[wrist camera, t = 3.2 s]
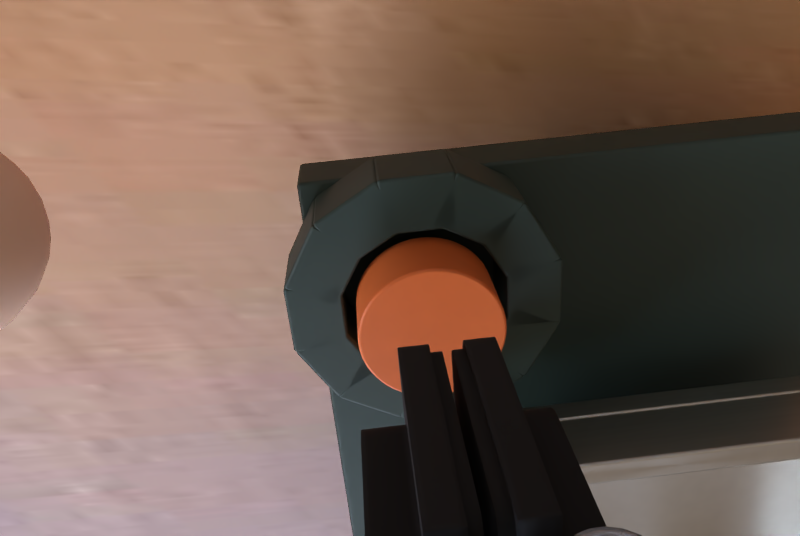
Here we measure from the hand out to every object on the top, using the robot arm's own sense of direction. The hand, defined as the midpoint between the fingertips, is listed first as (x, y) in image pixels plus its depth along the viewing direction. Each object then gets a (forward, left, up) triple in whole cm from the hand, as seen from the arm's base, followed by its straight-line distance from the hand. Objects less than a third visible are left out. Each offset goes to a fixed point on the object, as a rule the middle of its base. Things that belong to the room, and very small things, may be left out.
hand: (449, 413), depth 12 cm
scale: (+5, +4, -6) cm, 9 cm away
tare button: (0, 0, -4) cm, 4 cm away
